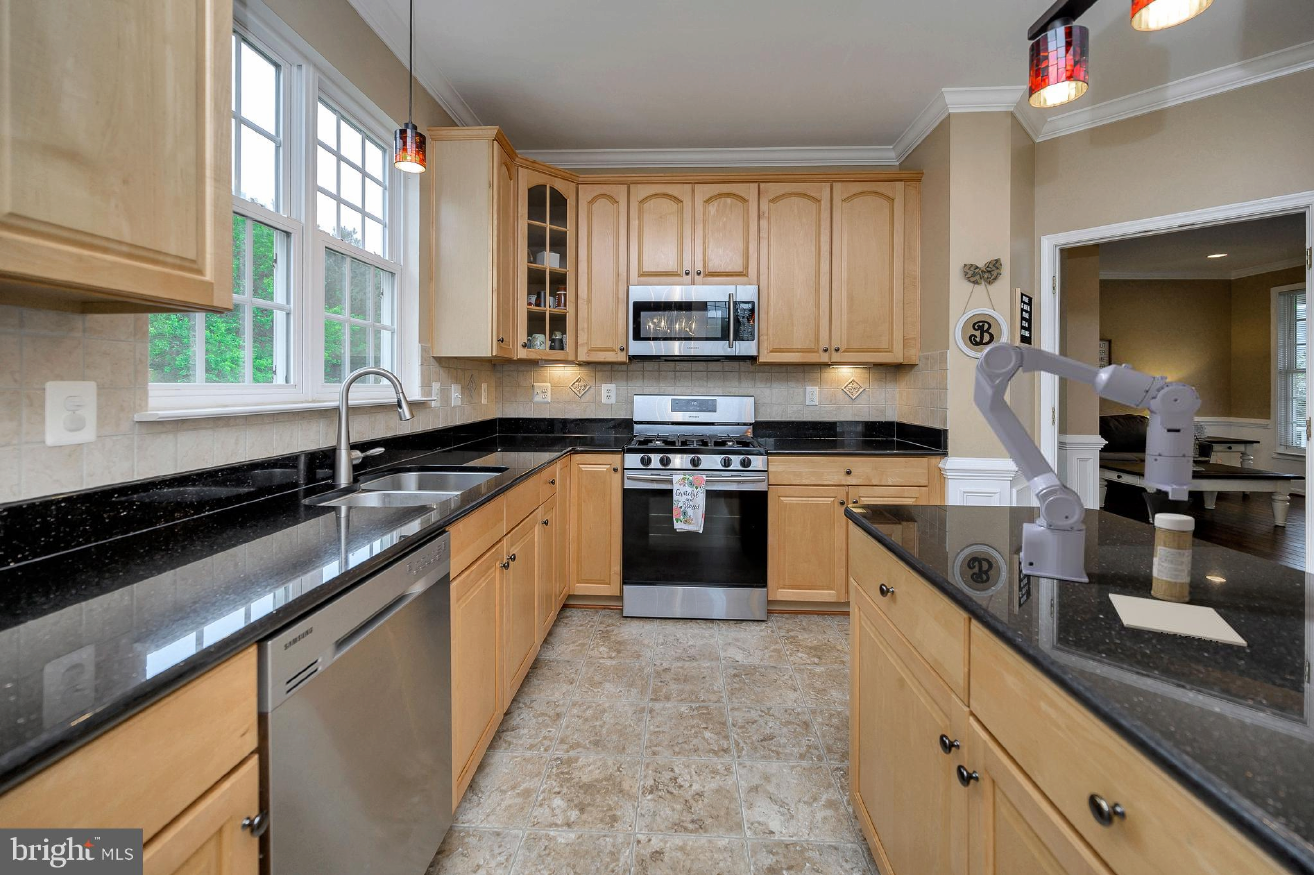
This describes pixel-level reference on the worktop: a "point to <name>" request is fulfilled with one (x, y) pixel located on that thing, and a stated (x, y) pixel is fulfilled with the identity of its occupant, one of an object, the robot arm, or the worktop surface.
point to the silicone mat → (1174, 619)
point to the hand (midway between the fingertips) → (1164, 536)
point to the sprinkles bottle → (1172, 557)
